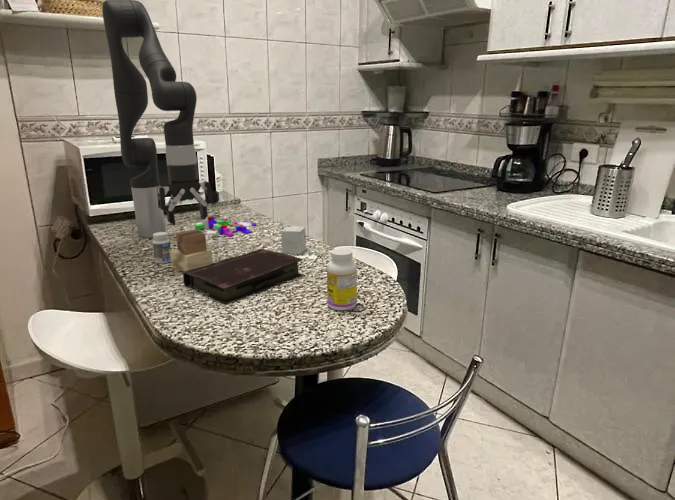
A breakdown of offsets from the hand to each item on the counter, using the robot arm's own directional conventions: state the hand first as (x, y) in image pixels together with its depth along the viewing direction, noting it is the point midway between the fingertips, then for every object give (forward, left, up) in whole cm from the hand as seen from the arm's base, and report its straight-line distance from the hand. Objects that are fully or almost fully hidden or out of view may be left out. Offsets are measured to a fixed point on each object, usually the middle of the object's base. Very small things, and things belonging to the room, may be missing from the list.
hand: (188, 221), depth 125 cm
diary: (+19, +7, -14) cm, 25 cm away
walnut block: (0, 0, -8) cm, 8 cm away
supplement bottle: (+47, +17, -13) cm, 52 cm away
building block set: (-34, +26, -14) cm, 45 cm away
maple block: (0, 0, -13) cm, 13 cm away
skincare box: (+6, +30, -13) cm, 33 cm away
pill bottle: (-10, -5, -13) cm, 17 cm away
